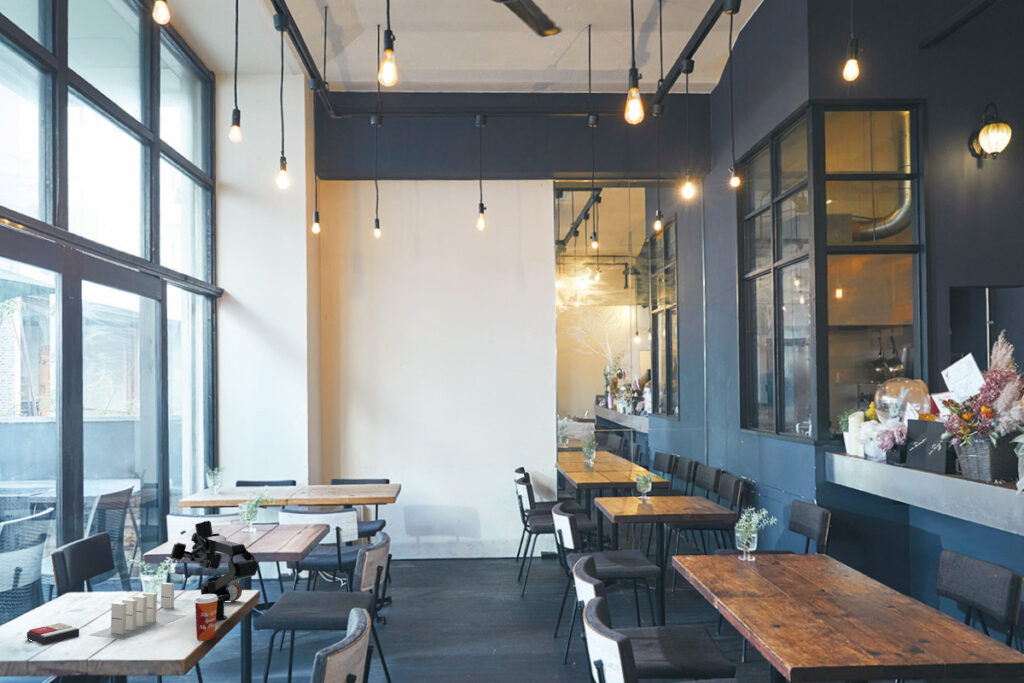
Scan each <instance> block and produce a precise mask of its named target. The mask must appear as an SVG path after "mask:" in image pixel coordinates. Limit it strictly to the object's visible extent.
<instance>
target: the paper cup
mask: <svg viewBox="0 0 1024 683" xmlns="http://www.w3.org/2000/svg"><path fill="white" fill-rule="evenodd" d="M217 600H218V598H217V595H216V594H204V595H201V594H200V595H198V596H196V597H195V599H194V601H193V602H194V604H195V605H194V606H195V607H194V608H195V627H196V628H195V629H196V630H195V631H196V640H198V641H201V642H202V641H210V640H213V639H215V635H216V634H215V633H216V623H217V621H216V612H217Z"/></svg>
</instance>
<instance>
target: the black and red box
mask: <svg viewBox="0 0 1024 683" xmlns="http://www.w3.org/2000/svg"><path fill="white" fill-rule="evenodd" d="M79 636H80V629H79V628H77V627H75V626H72V625H71V624H70V625H69V624H65V623H62V622H58V623H53V624H49V625H46V626H41V627H35V628H32V629H29V630H28V631H26V639H27V638H28V639H30V640H32V641H34V642H37V643H39V644H42V645H43V646H45V645H50V644H52V643H57V642H60V641H64V640H68V639H72V638H77V637H79ZM34 642H33V643H34Z"/></svg>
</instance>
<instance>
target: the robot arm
mask: <svg viewBox="0 0 1024 683" xmlns="http://www.w3.org/2000/svg"><path fill="white" fill-rule="evenodd" d="M194 526H195V532H194V533H193V534H192V535H191V540H190V541H191V542H193V543H194V544H193V545H192V548H191V549H192V550H191V551H187V550H186V549H187V544H185V543H181V542H176V543H174V544H173V546H172V549H171V553H170V556H169V557H170V560H172V561H177V562H181V561H182V560H183V558H185V559H188V560H189V562H192V563H196V564H198V567H202V568H205V569H208V570H209V569H210V570H214V571H215V570H218V569H219V568H220V565H221V562H222V557H223V555H222V554H224V555H228V556H229V560H228V564H227V567H228V572H226V573H225V574H223V575H219V576H215V577H209V578H207V580H204V583H203V584H202V586H201V590H200V595H204V594H216V595H217V596H220V597H217V598H218V600H217V612H216V620H218V621H221V620H220V619H223V620H226V619H225V618H227V619H228V616H226V615H225V602H224V601H230V593H229V590H228V587H229V586H231V585H232V584H234V583H235V582H239V581H240V580H242V579H245V578H251V577H254V576H256V574H257V572H258V564H257V561H256V558H255V557H254V555H253V554H252V553H251V552H250V551H248V550H247V549H246V546H245V544H243V543H237V542H235V541H234V542H233V541H229V540H227V537H225V536H224V535H221V534H220V533H219V532H217V533H213V527H212V522H211V521H210V520H204V521H202V522H198V523H195V525H194ZM236 556H241V557H242V558H243V559H244V561H237V562H234V560H233V558H234V557H236ZM221 595H223V596H221Z"/></svg>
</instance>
